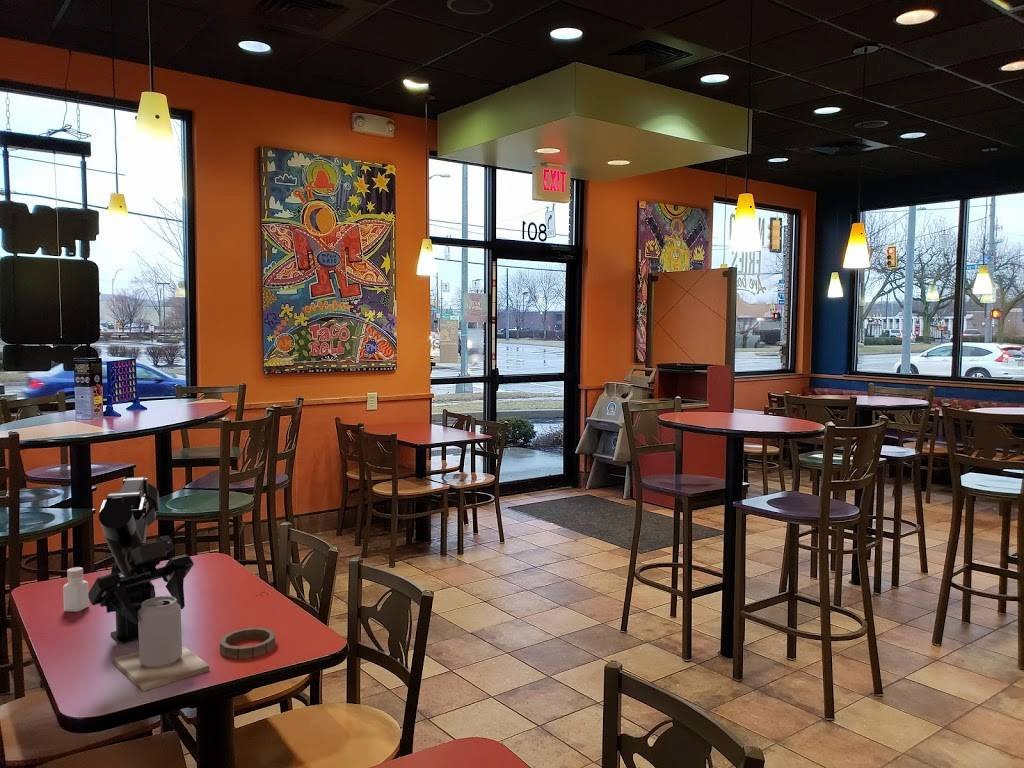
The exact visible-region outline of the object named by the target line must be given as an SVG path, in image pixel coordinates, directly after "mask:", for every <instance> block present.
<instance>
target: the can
mask: <svg viewBox="0 0 1024 768" xmlns="http://www.w3.org/2000/svg"><path fill="white" fill-rule="evenodd" d="M176 601H177V599H176V598H175V597H172V596H171V595H163V596H162V595H161V596H160V595H159V596H156V597H154V598H150V599H147V600H145V601H144V602H142V604H141V606H142V607H141V609H140V610H139V611H138V619H139V622H138V632H139V639H138V652H139V659H140V663H141V664H143V665H144V666H146V667H148V668H162V667H166V666H169V665H171V664H174V663H175V662H176V661H177V660H178V659H179V658H180V657H181V655H182V645H183V642H182V641H183V640H182V637H183V635H182V633H183V632H182V609H181V606H180V605H179V604H178V603H177V602H176Z"/></svg>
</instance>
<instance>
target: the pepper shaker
mask: <svg viewBox="0 0 1024 768" xmlns="http://www.w3.org/2000/svg"><path fill="white" fill-rule="evenodd" d="M66 571H67V572H66V573H67V574H66V575H67V577H66V578H67V583H65V584H64V585H63V586H62V593H63V594H62V596H63V597H62V598H63V599H62V600H63V610H64V612H75V613H77V612H78V613H79V612H81V611H83V610H85V609H86V608H89V606H90V600H89V597H88V593H89V591H90V589H89V582H88V581H87V580H84V568H83V567H80V566H76V567H71V568H68V569H67V570H66Z"/></svg>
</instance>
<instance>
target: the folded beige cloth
mask: <svg viewBox="0 0 1024 768" xmlns="http://www.w3.org/2000/svg"><path fill="white" fill-rule="evenodd" d="M113 663H114V665H115V666H116V667H117V668H118V669H119V670H120V671H121V672H122V673H123V674H124V675H125V676H126V677H127V678H128V679H129V680H130V681H131V682H132V683H133V684H134V685H135V686H136V687H138V689H140V691H142V692H145V691H147V692H148V691H149V690H153V689H156V688H159V687H161V686H165V685H168V684H172V683H175V682H178V681H181V680H185V679H187V678H190V677H193V676H197V675H200V674H203V673H206V672H209V671H210V665H209V664H208V663H207V662H206V661H204V660H203V659H201V658H200V657H199V656H198V655H196V654H195V653H194V652H192V651H191V650H190V649H188V648H187V647H186V646H185V645H183V644H182V655H181V657H180V658H179V659H178V660H177V661H176V662H175V663H174V664H171V665H169V666H166V667H162V668H148V667H146V666H144V665H143V664H141V663H140V659H139V651H136V652H132V653H129V654H125V655H121V656H118V657H114V658H113Z"/></svg>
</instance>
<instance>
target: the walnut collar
mask: <svg viewBox="0 0 1024 768" xmlns="http://www.w3.org/2000/svg"><path fill="white" fill-rule="evenodd" d="M256 639H257V640H264V641H263V642H259V643H256V644H253V645H244V646H238V645H237V646H235V645H233V644H234V643H238V642H240V641H245V640H256ZM275 646H276V632H275V631H273V630H271V629H270V628H267V627H265V628H264V627H248V628H247V627H246V628H241V629H240V628H239V629H237V630H234V631H230V632H228V633H227V634H225V635H223V636H222V637H221V638H220V641H219V654H221V655H222V656H223V657H225V658H229V659H234V660H235V659H237V660H238V659H239V660H241V659H251V658H256V657H260V656H261V655H265V654H268V653H269V652H270V651H272V650H273V649H275Z"/></svg>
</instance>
